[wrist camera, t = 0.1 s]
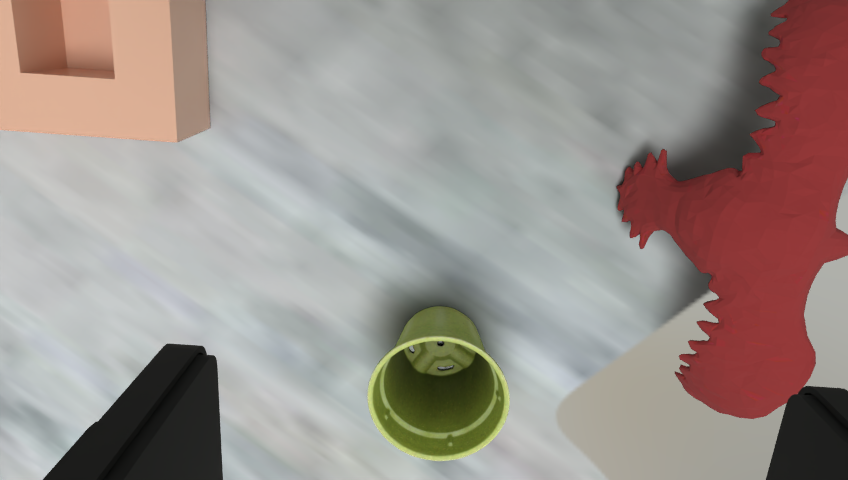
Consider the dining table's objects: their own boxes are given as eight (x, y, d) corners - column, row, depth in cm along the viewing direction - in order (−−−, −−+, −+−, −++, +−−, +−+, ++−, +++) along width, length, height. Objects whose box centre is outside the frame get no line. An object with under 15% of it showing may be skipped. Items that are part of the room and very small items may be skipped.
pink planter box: (3, -86, 42) (-66, -104, 36) (202, -73, 42) (164, -88, 36) (29, 115, 46) (-30, 127, 40) (210, 127, 46) (177, 142, 40)
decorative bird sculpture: (623, 341, 55) (810, 432, 45) (556, 369, 49) (755, 482, 39) (707, -11, 46) (965, 0, 36) (638, -30, 40) (924, -22, 30)
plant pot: (394, 401, 53) (385, 470, 44) (367, 296, 50) (352, 350, 42) (507, 382, 52) (519, 450, 44) (487, 275, 49) (496, 325, 41)
